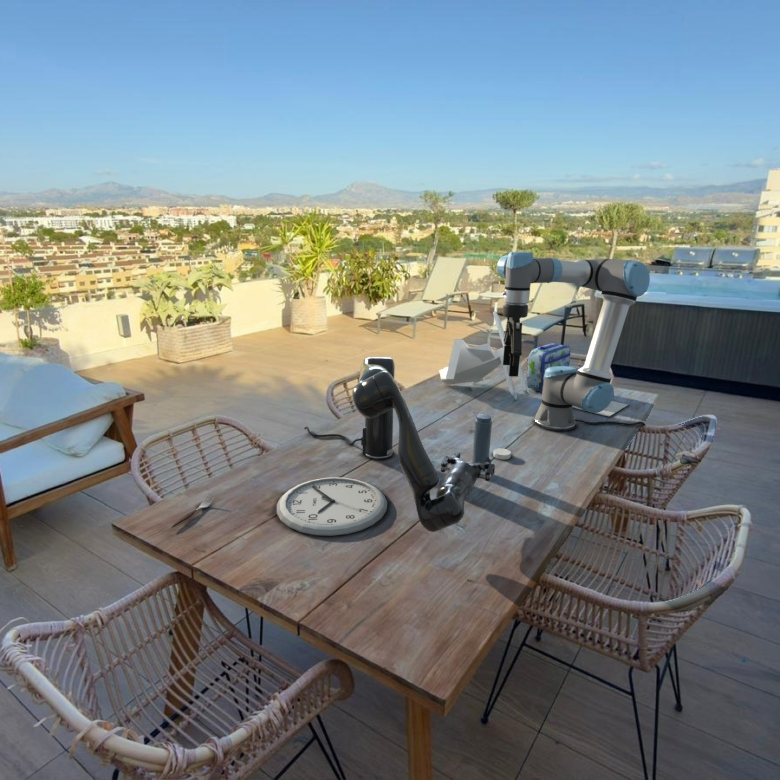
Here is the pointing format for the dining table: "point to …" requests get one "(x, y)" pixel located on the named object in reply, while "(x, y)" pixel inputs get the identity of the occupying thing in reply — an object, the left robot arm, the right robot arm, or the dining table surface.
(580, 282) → the right robot arm
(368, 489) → the wall clock
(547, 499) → the dining table surface
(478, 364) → the white plastic object
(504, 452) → the lid
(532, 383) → the lunch box
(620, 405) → the invitation card
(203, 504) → the fork
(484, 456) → the jar
